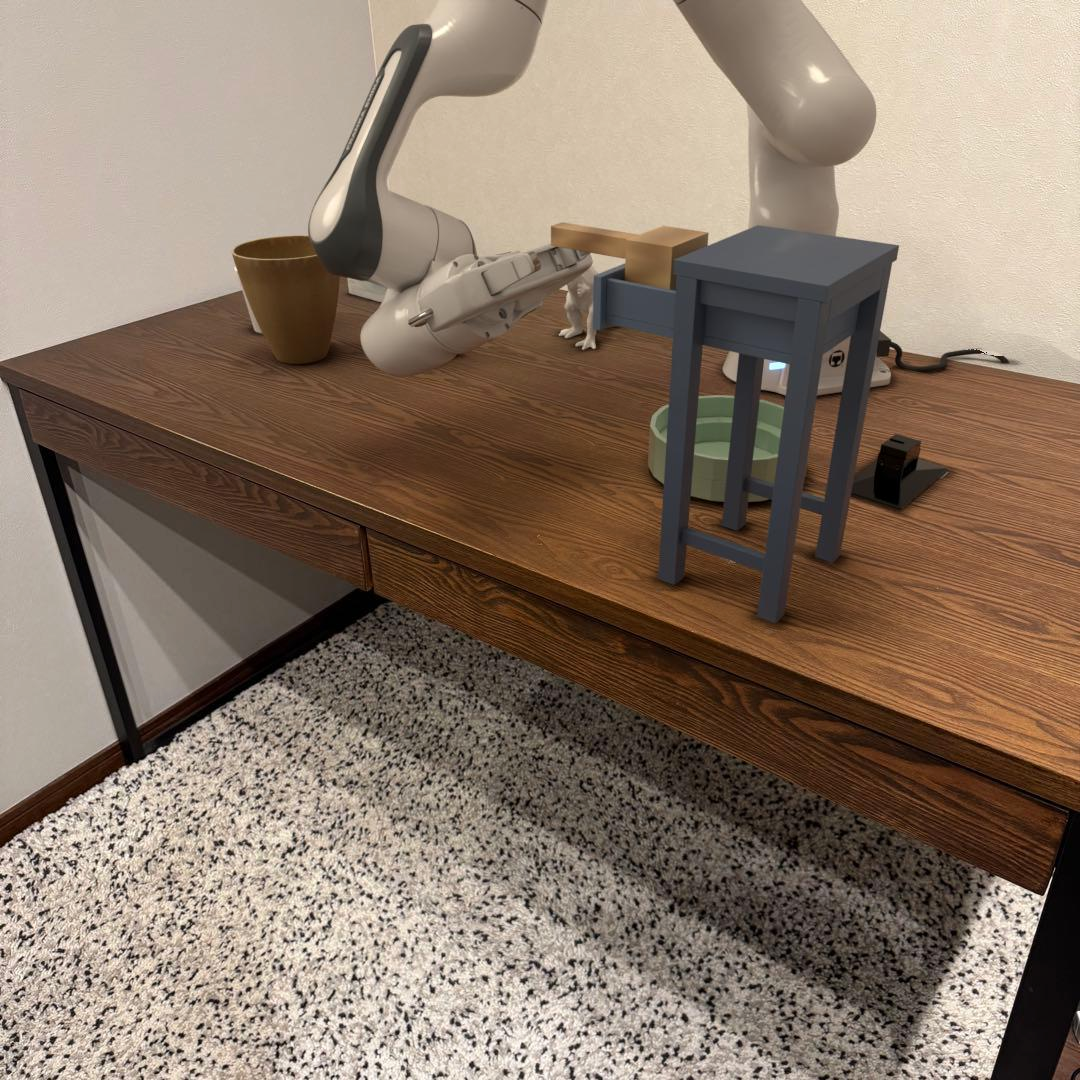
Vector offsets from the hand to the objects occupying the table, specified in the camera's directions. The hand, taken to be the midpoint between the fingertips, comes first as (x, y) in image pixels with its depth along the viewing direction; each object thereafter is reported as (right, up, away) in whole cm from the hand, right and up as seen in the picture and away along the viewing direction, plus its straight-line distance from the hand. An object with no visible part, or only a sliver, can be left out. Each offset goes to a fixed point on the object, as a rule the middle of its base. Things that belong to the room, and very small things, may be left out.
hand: (565, 249), depth 87 cm
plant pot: (-38, 0, +53) cm, 65 cm away
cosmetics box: (-30, +16, +79) cm, 86 cm away
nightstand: (+14, -28, +4) cm, 31 cm away
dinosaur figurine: (+6, +5, +59) cm, 60 cm away
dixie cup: (-45, +7, +64) cm, 79 cm away
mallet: (+5, -5, -2) cm, 7 cm away
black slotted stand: (+36, -20, +17) cm, 45 cm away
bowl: (+18, -19, +19) cm, 33 cm away
